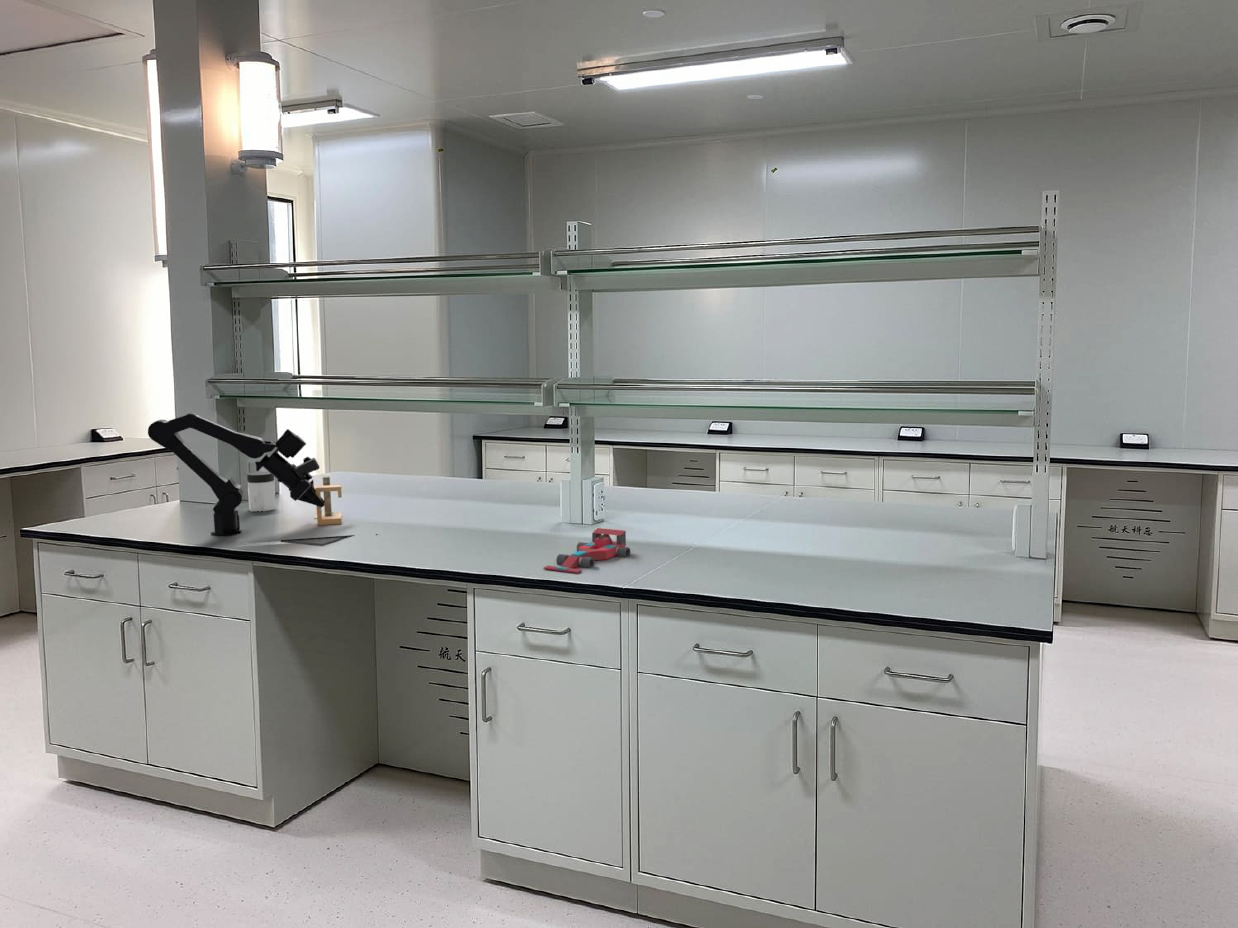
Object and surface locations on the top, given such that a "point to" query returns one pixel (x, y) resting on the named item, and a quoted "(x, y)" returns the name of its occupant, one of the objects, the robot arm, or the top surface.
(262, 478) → the jar
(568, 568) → the race car
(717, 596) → the top surface
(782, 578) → the top surface
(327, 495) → the hook stand
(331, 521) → the c hook
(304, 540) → the rubber mat
